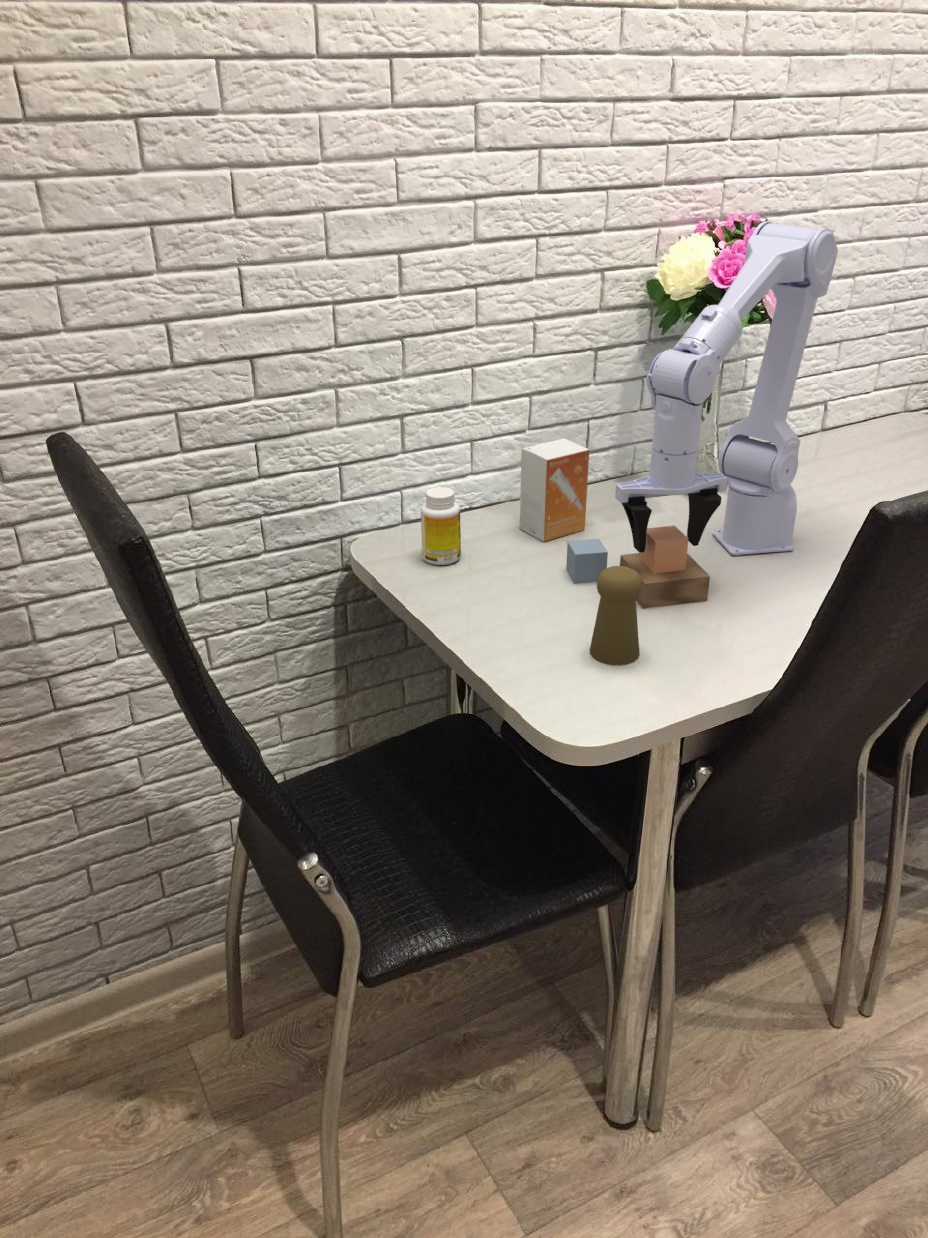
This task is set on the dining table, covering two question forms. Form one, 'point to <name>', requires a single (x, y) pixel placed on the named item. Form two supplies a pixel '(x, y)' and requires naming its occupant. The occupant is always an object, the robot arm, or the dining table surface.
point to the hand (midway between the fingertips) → (666, 546)
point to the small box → (553, 489)
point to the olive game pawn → (616, 617)
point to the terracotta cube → (665, 549)
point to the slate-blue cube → (585, 560)
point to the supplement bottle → (440, 527)
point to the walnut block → (669, 583)
